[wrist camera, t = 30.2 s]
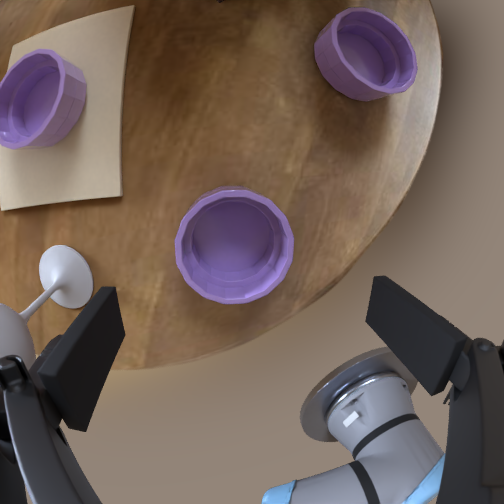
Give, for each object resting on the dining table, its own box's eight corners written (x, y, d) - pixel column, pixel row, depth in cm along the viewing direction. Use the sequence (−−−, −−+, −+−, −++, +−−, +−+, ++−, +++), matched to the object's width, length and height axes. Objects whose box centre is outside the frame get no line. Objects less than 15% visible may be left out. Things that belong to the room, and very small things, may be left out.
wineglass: (91, 318, 26) (8, 476, 7) (38, 295, 25) (-66, 417, 5) (99, 256, 25) (-35, 412, 5) (41, 234, 23) (-106, 336, 3)
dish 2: (277, 277, 28) (290, 301, 23) (185, 281, 26) (180, 305, 22) (280, 185, 25) (296, 190, 20) (180, 186, 24) (172, 192, 19)
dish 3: (391, 109, 24) (420, 103, 19) (313, 94, 23) (334, 81, 18) (385, 39, 21) (410, 25, 16) (310, 18, 20) (327, -4, 15)
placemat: (122, 195, 23) (120, 196, 23) (4, 209, 21) (1, 211, 21) (135, 7, 17) (134, 4, 17) (15, 46, 15) (13, 45, 14)
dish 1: (86, 140, 20) (60, 137, 16) (18, 155, 19) (-12, 157, 15) (93, 54, 18) (72, 36, 13) (25, 76, 17) (-2, 67, 12)
